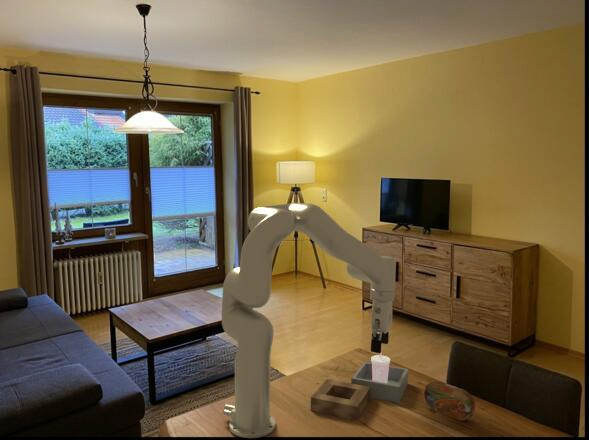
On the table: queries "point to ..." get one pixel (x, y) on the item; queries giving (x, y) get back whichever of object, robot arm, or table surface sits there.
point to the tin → (449, 400)
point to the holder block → (340, 399)
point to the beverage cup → (380, 368)
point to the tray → (383, 390)
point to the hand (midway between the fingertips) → (379, 347)
